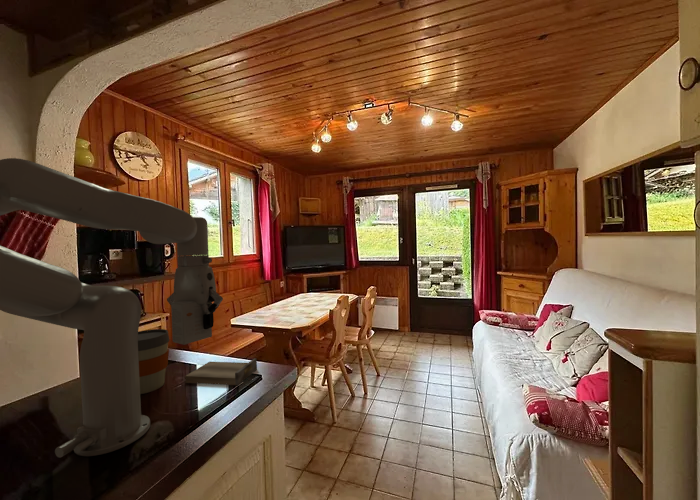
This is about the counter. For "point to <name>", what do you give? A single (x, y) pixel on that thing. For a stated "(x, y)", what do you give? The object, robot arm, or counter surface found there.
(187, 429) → the counter surface
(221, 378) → the shelf board
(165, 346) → the reusable coffee cup
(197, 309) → the small box
